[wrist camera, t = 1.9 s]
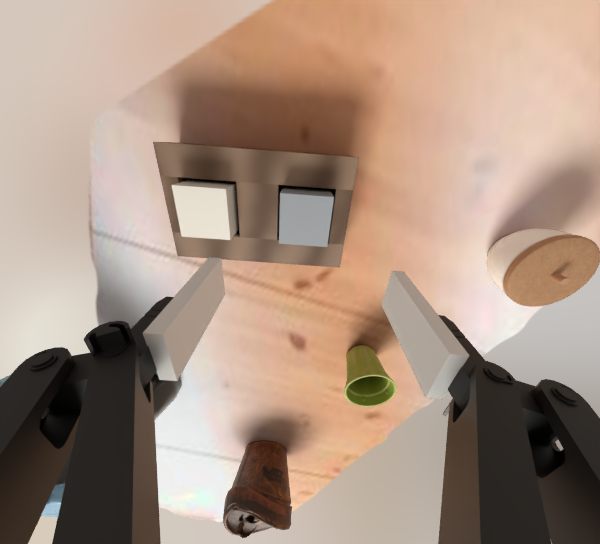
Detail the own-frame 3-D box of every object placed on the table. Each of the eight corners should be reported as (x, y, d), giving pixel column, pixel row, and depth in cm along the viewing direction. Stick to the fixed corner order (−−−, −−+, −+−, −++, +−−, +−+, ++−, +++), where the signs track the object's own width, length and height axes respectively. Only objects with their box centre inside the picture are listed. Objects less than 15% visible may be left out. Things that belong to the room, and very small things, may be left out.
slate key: (281, 232, 31) (278, 243, 28) (283, 187, 28) (280, 193, 25) (324, 235, 31) (327, 247, 28) (330, 191, 29) (333, 197, 25)
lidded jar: (464, 281, 40) (505, 316, 31) (483, 221, 34) (539, 244, 26) (528, 278, 39) (587, 312, 31) (558, 216, 34) (638, 239, 26)
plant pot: (336, 341, 48) (341, 378, 40) (381, 335, 46) (396, 372, 39) (341, 370, 52) (347, 409, 44) (382, 366, 51) (396, 404, 43)
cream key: (195, 226, 31) (181, 236, 28) (188, 180, 28) (171, 184, 25) (238, 229, 31) (230, 240, 28) (235, 183, 28) (225, 189, 25)
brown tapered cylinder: (235, 462, 75) (218, 545, 60) (237, 431, 66) (217, 520, 50) (288, 467, 77) (285, 549, 61) (297, 436, 67) (296, 524, 52)
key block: (195, 240, 37) (177, 256, 32) (179, 142, 30) (153, 141, 25) (334, 250, 37) (339, 267, 32) (349, 155, 31) (358, 157, 25)
